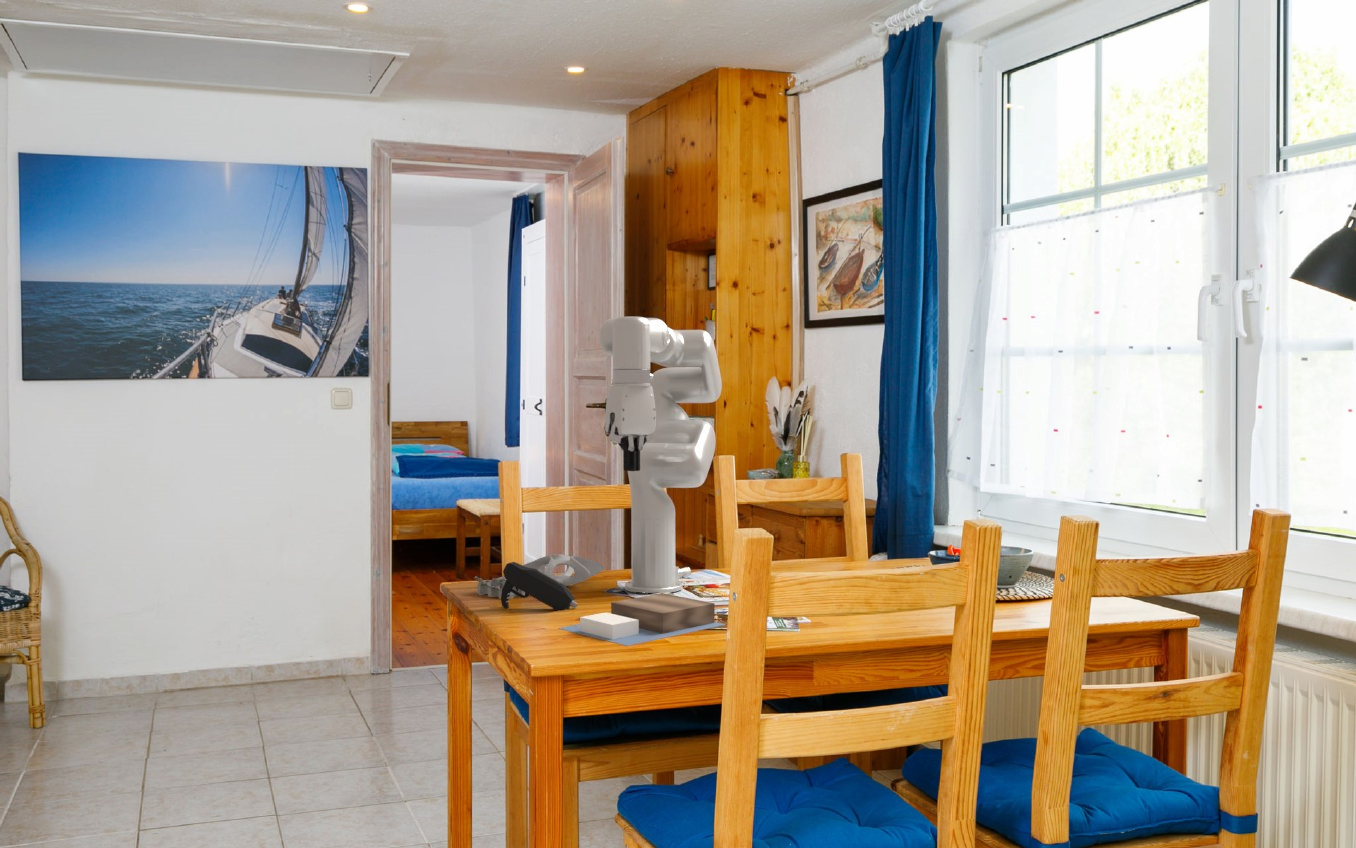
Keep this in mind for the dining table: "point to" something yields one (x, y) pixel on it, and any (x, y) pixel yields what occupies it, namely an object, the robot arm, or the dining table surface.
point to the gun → (536, 587)
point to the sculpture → (577, 564)
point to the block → (665, 612)
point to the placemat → (641, 634)
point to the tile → (609, 625)
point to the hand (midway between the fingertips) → (631, 470)
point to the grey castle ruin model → (494, 587)
